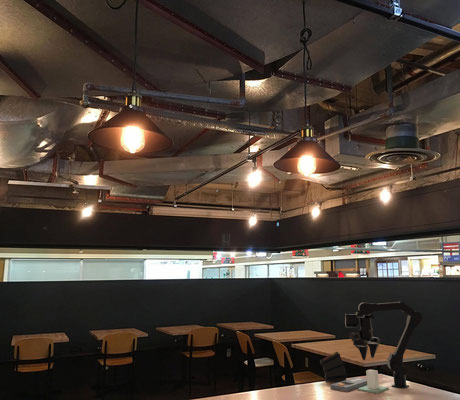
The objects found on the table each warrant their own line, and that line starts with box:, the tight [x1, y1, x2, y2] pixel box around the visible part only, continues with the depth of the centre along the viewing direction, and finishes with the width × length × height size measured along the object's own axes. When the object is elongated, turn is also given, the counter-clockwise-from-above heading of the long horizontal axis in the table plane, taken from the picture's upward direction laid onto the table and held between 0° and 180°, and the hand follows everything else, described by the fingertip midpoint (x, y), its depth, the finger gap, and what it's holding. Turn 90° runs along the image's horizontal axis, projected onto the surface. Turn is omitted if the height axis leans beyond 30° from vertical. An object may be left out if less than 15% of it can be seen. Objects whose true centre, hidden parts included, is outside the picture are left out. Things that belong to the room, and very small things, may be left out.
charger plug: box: [365, 369, 380, 389], centre depth 209 cm, size 4×4×8 cm
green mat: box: [357, 385, 389, 394], centre depth 208 cm, size 12×10×1 cm
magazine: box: [319, 351, 348, 383], centre depth 230 cm, size 4×13×15 cm, turn 88°
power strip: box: [330, 377, 367, 393], centre depth 218 cm, size 28×9×3 cm, turn 135°
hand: (368, 358), depth 219 cm, fingers open, 9 cm apart
